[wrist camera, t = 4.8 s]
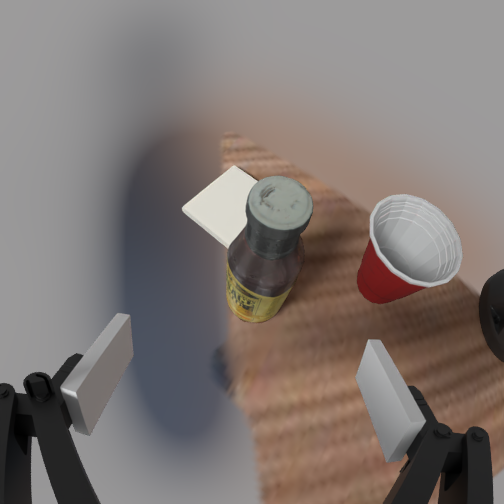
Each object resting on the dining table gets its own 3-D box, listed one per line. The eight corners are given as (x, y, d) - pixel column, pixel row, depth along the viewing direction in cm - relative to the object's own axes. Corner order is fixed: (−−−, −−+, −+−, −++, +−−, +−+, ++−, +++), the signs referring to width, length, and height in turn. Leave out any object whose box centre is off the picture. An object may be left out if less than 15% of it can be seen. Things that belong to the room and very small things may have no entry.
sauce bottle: (218, 285, 37) (209, 168, 20) (268, 268, 39) (297, 146, 21) (239, 337, 35) (248, 256, 17) (290, 317, 36) (346, 222, 18)
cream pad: (289, 208, 43) (290, 203, 42) (239, 257, 39) (239, 253, 38) (234, 169, 46) (234, 165, 45) (182, 211, 42) (182, 207, 41)
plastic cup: (368, 230, 42) (404, 174, 32) (424, 283, 39) (475, 239, 28) (318, 279, 38) (350, 227, 28) (381, 340, 35) (435, 309, 24)
